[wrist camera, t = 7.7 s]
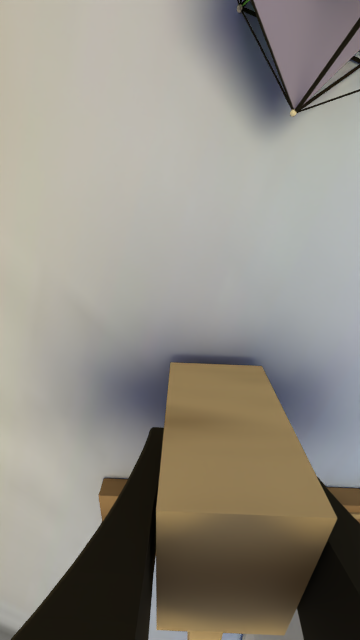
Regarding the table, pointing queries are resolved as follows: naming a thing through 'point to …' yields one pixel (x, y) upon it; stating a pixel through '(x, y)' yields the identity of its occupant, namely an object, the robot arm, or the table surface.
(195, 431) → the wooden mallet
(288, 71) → the geometric puzzle
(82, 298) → the table surface
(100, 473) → the table surface
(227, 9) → the table surface
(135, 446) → the table surface
